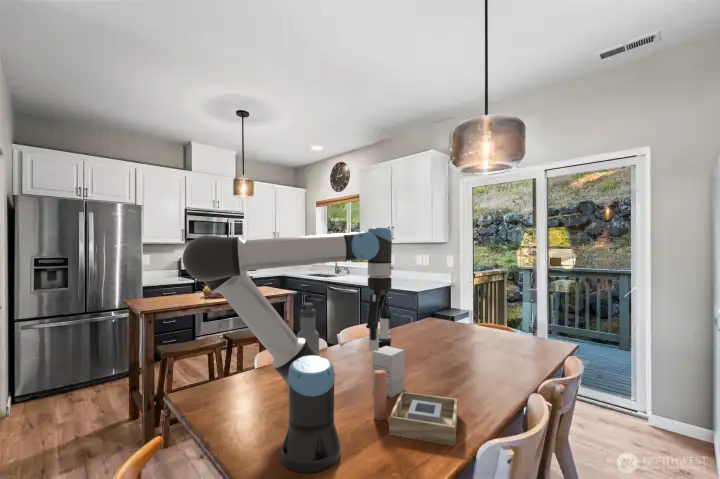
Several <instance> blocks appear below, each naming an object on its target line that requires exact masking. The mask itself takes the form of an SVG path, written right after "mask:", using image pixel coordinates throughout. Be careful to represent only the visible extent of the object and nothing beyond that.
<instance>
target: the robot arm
mask: <svg viewBox="0 0 720 479" xmlns="http://www.w3.org/2000/svg"><path fill="white" fill-rule="evenodd" d="M392 237H393V236H392V231H391V229H390V228H389V227H370V228H368V230H367V231H366V230H365V231H358V232H345V233H343V232H340V233H329V234H317V235H314V234H313V235H303V236H287V237H276V238H275V237H274V238H261V239H259V238H257V239H245V240H244V238H242V237H240V236H231V237H230V236H229V237H228V236H227V237H226V236H220V235H218V236H217V235H209V234H208V235H202V236H198V237H196V238H194V239H192V240H191V241H190V242H189V243H188V244H187V245H186V247H185V248H184V250H183V254H182V264H183V267H184V269H185V272H187V273H188V275H190V277H192V278H194V279H195V280H198V281H202V283H204V284H205V286H206V287H207V288H208V290H210V292H211V293H215V294H220V295H221V296H222V298H224V299H225V301H226V302H227V303H228V304H229V305H230V307H231V308H232V309H233V311H234V312H235V313H236V314H237V315H238V317H239V318H240V319H241V320H242V321H243V322H244V324H245V325H246V326H247V327H248V328H249V330H250V332H252V333H253V335H254V336H255V337H256V338H257V341H259V343H261V345H262V346H263V347H264V349H265V350H266V351H267V352H268V353H269V354H270V356H271V357H272V367H273V368H274V369H275V370H276V372H277V373H278V374H279V375H280V377H281V378H282V380H284V382H285V384H286V388H287V394H288V425H287V426H288V427H287V429H286V433H285V435H284V439H283V442H282V445H281V458H280V459H281V462H282V464H283V465H284V466H285V467H286V468H288V469H289V470H291V471H293V472H297V473H302V474H303V473H305V474H307V473H308V474H310V472H312V473H317V472H316V471H318V472H320V471H319V470H322V471H324V470H323V469H325V470H327V469H328V467H329V468H331V467H332V466H333V464H334V465H336V463H337V462H338V461H339V459H340V458H341V454H342V444H341V440H340V436H339V433H338V430H337V427H336V424H335V381H336V374H335V368H334V364H333V363H332V361H331V360H329V359H328V358H326V357H323V356H321V355H320V353H319V354H318V353H317V352H316V351H315V350H314V349H313V348H312V347H311V346H310V345H309V343H308V342H307V341H306V340H305V339H304V338H298V337H297V335H295V333H294V332H293V330H292V329H291V328H290V327H289V325H288V324H287V323H286V322H285V321H284V319H283V318H282V316H280V314H279V313H278V312H277V310H276V309H275V308H274V307H273V305H272V304H271V303H270V302H269V300H268V299H267V298H266V297H265V295H264V294H263V293H262V291H261V290H260V289H259V287H258V286H257V285H256V284H255V282H254V281H253V280H252V278H250V276H249V275H248V271H256V270H257V271H258V270H266V269H268V270H269V269H277V268H279V269H280V268H287V267H289V268H290V267H298V266H306V265H308V266H309V265H317V264H327V263H337V262H350V261H367V276H369V277H367V288H368V290H372V291H373V293H371V294H370V298H369V306H368V316H367V323H366V326H365V328H366V329H368V336H369V337H368V341H369V342H368V351H378V350H379V329H380V339H388V330H389V319H391V318H392V315H391V311H390V304H389V303H390V302H389V290H392V278H391V276H392V270H393V269H394V266H392V248H393V246H392V244H393V238H392ZM330 466H331V467H330ZM326 468H327V469H326Z"/></svg>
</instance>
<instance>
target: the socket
mask: <svg viewBox="0 0 720 479" xmlns="http://www.w3.org/2000/svg"><path fill="white" fill-rule="evenodd" d="M408 419H414V420H421V421H427V422H434V423H440V424H441V419H442V404H441V403H433V402H426V401H419V400H412V403H411V406H410V408H409V411H408Z"/></svg>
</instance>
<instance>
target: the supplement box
mask: <svg viewBox="0 0 720 479" xmlns="http://www.w3.org/2000/svg"><path fill="white" fill-rule="evenodd" d="M371 353H372V354H371V356H372V359H371V361H372V362H371V366H372V369H371V370H372V374H371V375H372V378H371V380H372V381H371V382H372V383H371V384H372V390H371V391H372V392H373V393H374V371H375V370H384V371H386V394H387V397H389V398H391V399H392V398H394V397H395V396H397V395H400V393H401V392H404V391H405V390H406V388H405V387H406V383H405V382H406V380H405V378H406V377H405V375H406V372H405V371H406V370H405V369H406V368H405V367H406V366H405V350H404V349H402V348H398V347H397V348H396V347H394V346H393V347H392V346H390V347H389V346H384V347H382V348H379V350H378V351H373V350H371Z"/></svg>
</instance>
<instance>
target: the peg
mask: <svg viewBox="0 0 720 479" xmlns="http://www.w3.org/2000/svg"><path fill="white" fill-rule="evenodd" d="M387 397H388V396H387V394H386V371H384V370H375V371H374V392H373V418H374V420H376V421H384V420H386V419H387V417H388V416H387V414H388V413H387V411H388V410H387V399H388V398H387Z"/></svg>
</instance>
